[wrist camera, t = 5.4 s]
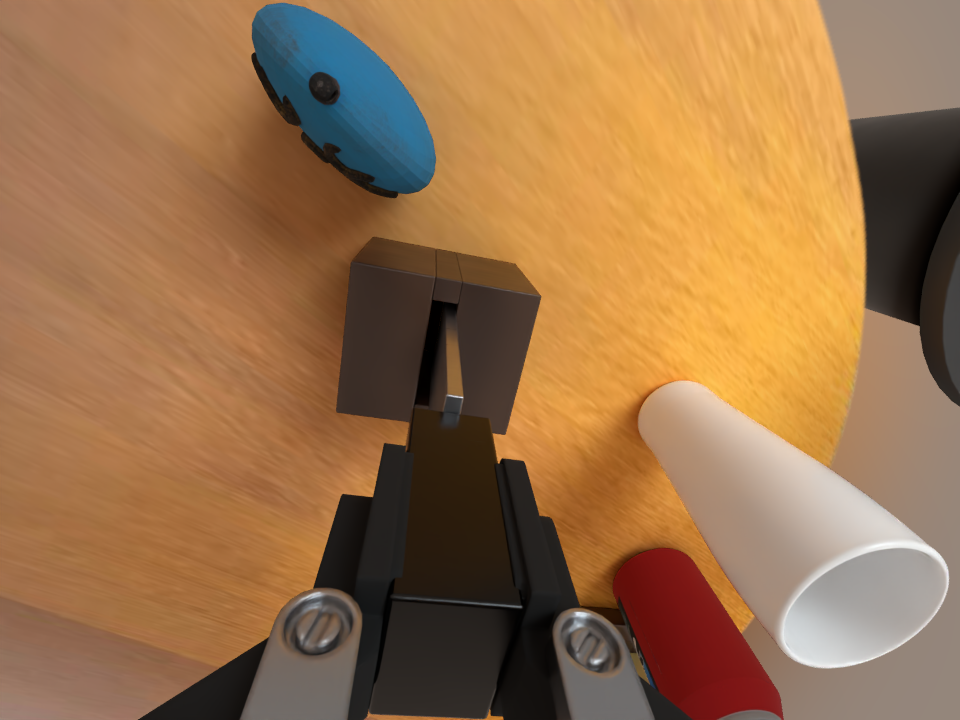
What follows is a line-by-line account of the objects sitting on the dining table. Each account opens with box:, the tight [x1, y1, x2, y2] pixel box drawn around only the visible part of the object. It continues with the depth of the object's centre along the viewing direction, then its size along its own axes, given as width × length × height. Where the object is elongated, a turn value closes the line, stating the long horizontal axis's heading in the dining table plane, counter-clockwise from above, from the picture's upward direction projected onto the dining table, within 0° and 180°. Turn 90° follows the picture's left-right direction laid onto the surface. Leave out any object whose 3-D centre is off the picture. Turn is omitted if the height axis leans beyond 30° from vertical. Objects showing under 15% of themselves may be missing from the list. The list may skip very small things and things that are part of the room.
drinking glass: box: [638, 380, 949, 668], centre depth 24 cm, size 7×7×15 cm
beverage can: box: [613, 548, 784, 720], centre depth 31 cm, size 7×7×12 cm
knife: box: [369, 302, 524, 719], centre depth 15 cm, size 2×4×16 cm, turn 168°
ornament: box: [251, 3, 436, 198], centre depth 18 cm, size 8×5×10 cm, turn 44°
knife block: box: [336, 237, 541, 435], centre depth 24 cm, size 8×7×7 cm
